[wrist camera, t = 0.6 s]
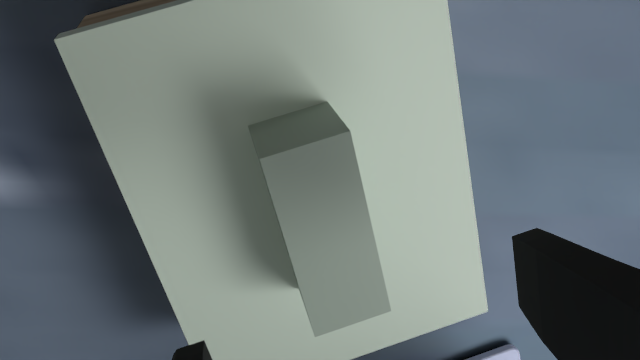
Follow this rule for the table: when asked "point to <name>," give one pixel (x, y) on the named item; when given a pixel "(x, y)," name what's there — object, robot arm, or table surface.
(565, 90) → the table surface
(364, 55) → the lid
